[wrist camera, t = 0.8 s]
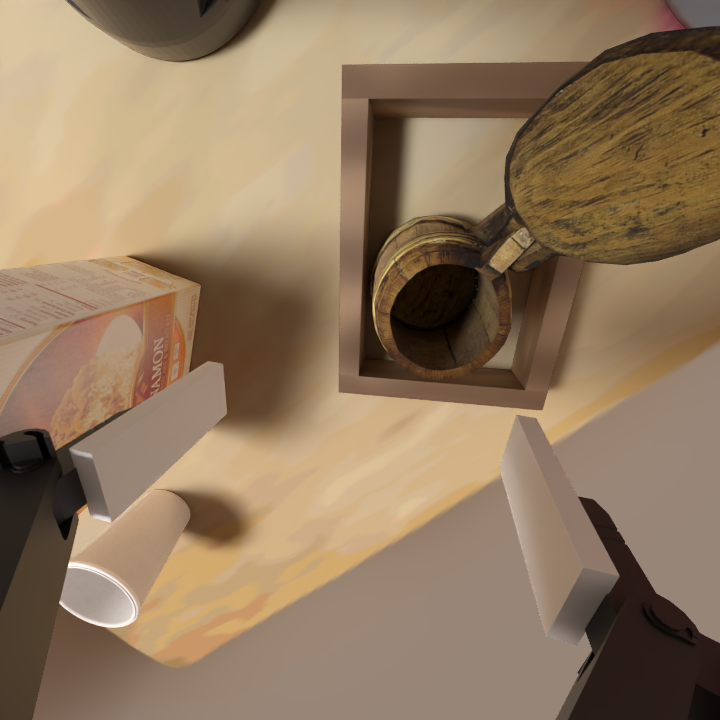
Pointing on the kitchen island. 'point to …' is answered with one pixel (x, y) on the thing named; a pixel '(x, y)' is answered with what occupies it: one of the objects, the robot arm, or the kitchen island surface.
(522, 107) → the frame
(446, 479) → the kitchen island surface
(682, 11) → the grey mat
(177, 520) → the dixie cup
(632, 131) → the wooden mug
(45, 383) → the coffeecake box
